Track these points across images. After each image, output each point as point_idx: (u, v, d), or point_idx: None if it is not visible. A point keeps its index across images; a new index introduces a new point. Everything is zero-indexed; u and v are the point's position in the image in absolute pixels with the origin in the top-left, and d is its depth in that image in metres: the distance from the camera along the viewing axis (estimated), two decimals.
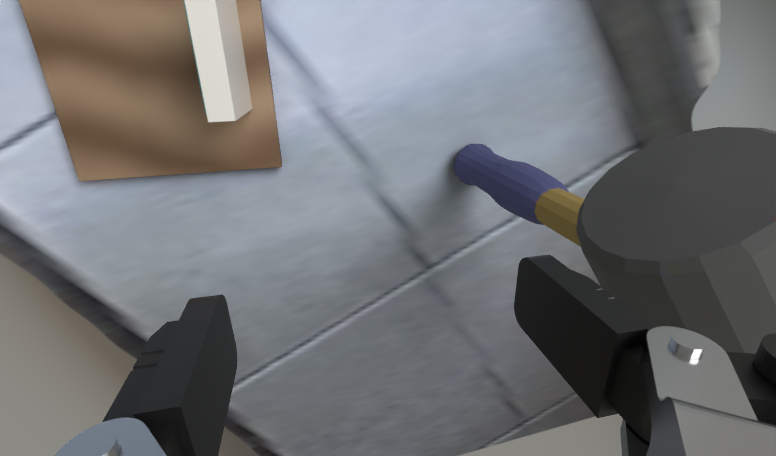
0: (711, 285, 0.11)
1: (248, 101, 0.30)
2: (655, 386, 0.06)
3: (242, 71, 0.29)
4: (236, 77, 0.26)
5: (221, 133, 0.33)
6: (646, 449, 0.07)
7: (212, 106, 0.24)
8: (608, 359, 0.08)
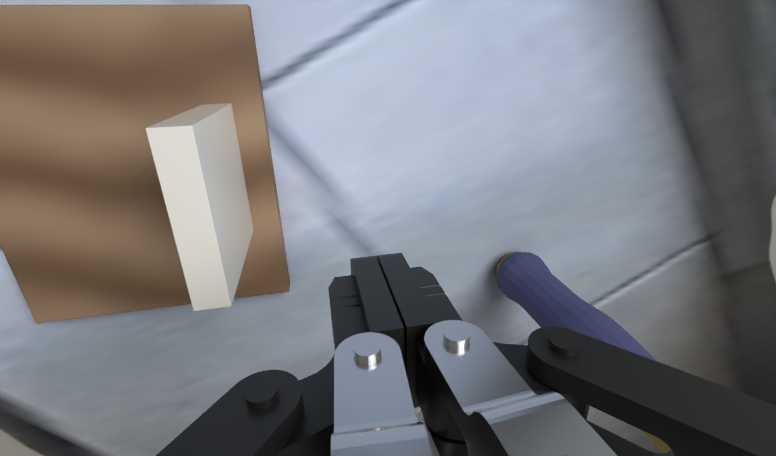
0: None
1: (248, 230, 0.24)
2: (455, 397, 0.06)
3: (240, 200, 0.22)
4: (232, 229, 0.20)
5: None
6: (453, 447, 0.07)
7: (199, 292, 0.17)
8: (406, 352, 0.08)
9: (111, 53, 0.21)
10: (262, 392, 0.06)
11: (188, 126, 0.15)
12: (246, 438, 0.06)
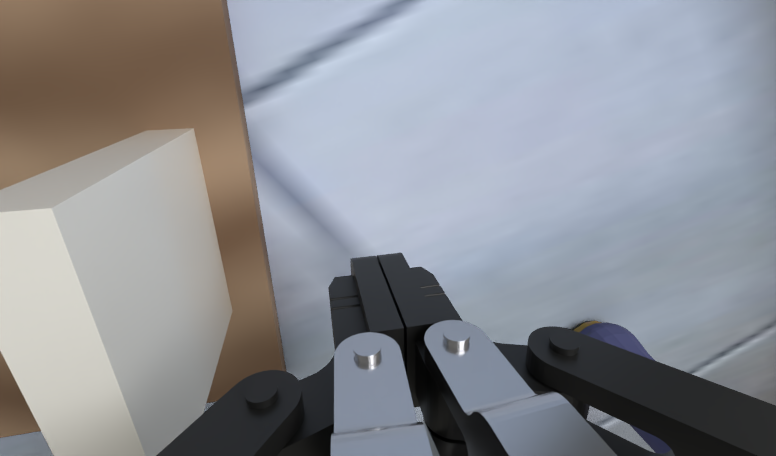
0: None
1: (222, 321, 0.16)
2: (455, 398, 0.06)
3: (207, 283, 0.14)
4: (184, 354, 0.11)
5: None
6: (453, 447, 0.07)
7: None
8: (406, 352, 0.08)
9: None
10: (262, 392, 0.06)
11: (42, 210, 0.06)
12: (246, 438, 0.06)
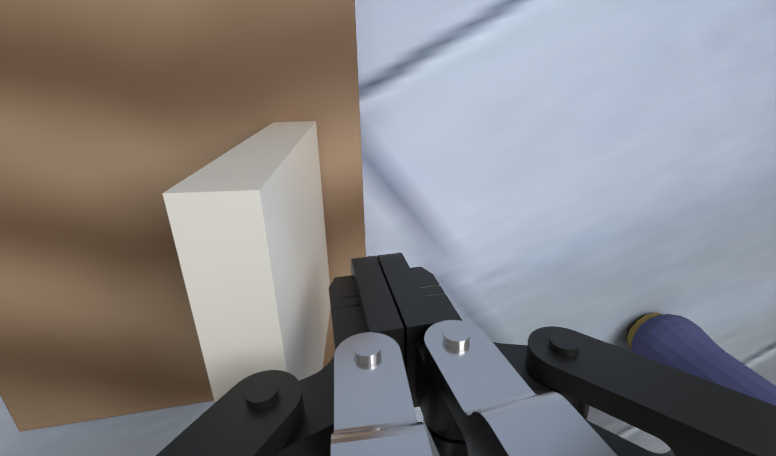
0: None
1: (327, 309, 0.16)
2: (455, 398, 0.06)
3: (321, 271, 0.15)
4: (311, 337, 0.12)
5: None
6: (453, 447, 0.07)
7: None
8: (406, 352, 0.08)
9: (140, 42, 0.13)
10: (262, 393, 0.06)
11: (251, 191, 0.07)
12: (246, 438, 0.06)
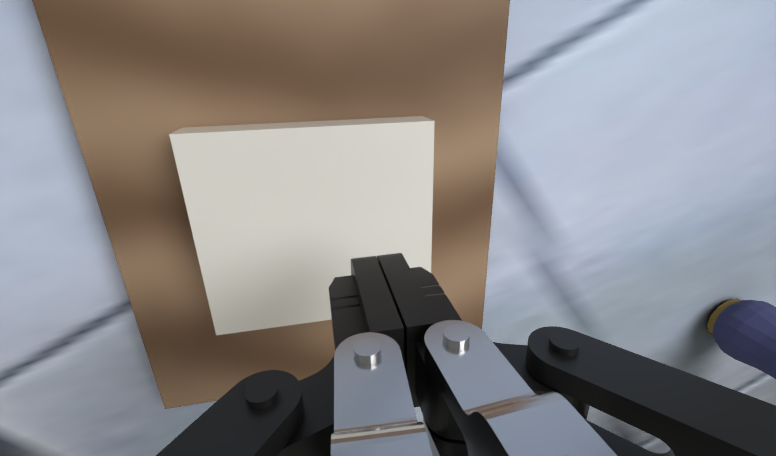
0: None
1: None
2: (455, 398, 0.06)
3: (371, 254, 0.16)
4: (287, 272, 0.15)
5: None
6: (453, 448, 0.07)
7: None
8: (406, 352, 0.08)
9: (320, 41, 0.14)
10: (262, 392, 0.06)
11: (171, 134, 0.13)
12: (246, 438, 0.06)
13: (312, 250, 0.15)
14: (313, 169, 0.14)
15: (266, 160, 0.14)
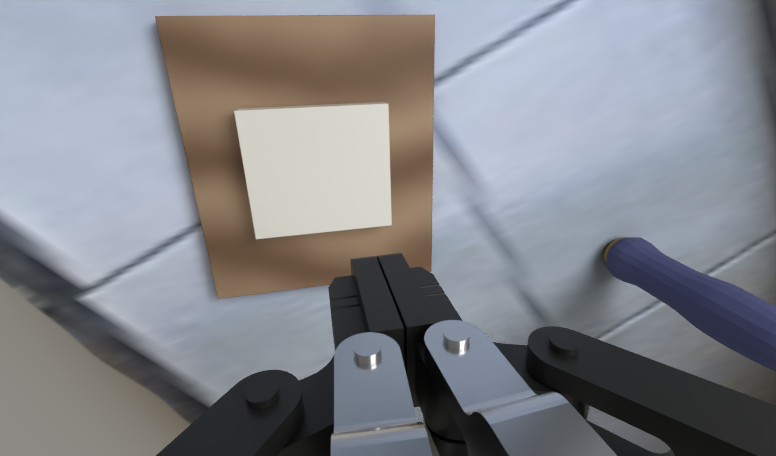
0: None
1: (365, 218, 0.26)
2: (455, 398, 0.06)
3: (352, 188, 0.25)
4: (300, 198, 0.25)
5: (374, 241, 0.29)
6: (453, 447, 0.07)
7: None
8: (406, 352, 0.08)
9: (320, 56, 0.24)
10: (262, 392, 0.06)
11: (234, 111, 0.22)
12: (246, 438, 0.06)
13: (315, 184, 0.25)
14: (316, 132, 0.24)
15: (288, 126, 0.23)
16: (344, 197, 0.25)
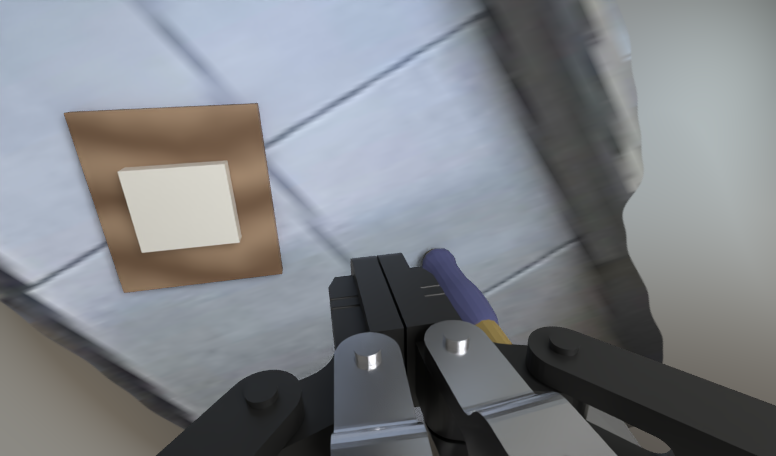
0: None
1: (219, 238, 0.39)
2: (455, 398, 0.06)
3: (206, 218, 0.38)
4: (170, 225, 0.37)
5: (234, 252, 0.41)
6: (453, 448, 0.07)
7: None
8: (406, 352, 0.08)
9: (178, 133, 0.36)
10: (262, 392, 0.06)
11: (118, 171, 0.35)
12: (246, 438, 0.06)
13: (180, 216, 0.37)
14: (175, 183, 0.36)
15: (156, 180, 0.35)
16: (201, 224, 0.38)
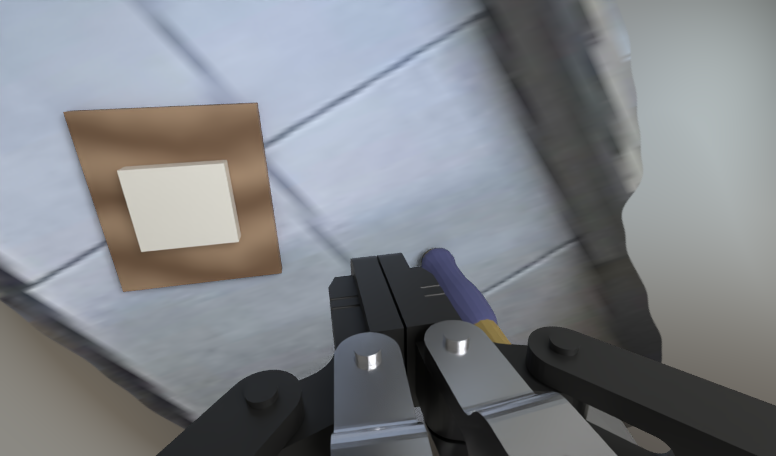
0: None
1: (218, 237, 0.39)
2: (455, 398, 0.06)
3: (206, 217, 0.38)
4: (169, 224, 0.37)
5: (234, 252, 0.41)
6: (453, 447, 0.07)
7: None
8: (406, 352, 0.08)
9: (178, 132, 0.36)
10: (262, 392, 0.06)
11: (117, 170, 0.35)
12: (246, 438, 0.06)
13: (179, 215, 0.37)
14: (175, 182, 0.36)
15: (155, 179, 0.35)
16: (201, 223, 0.38)
